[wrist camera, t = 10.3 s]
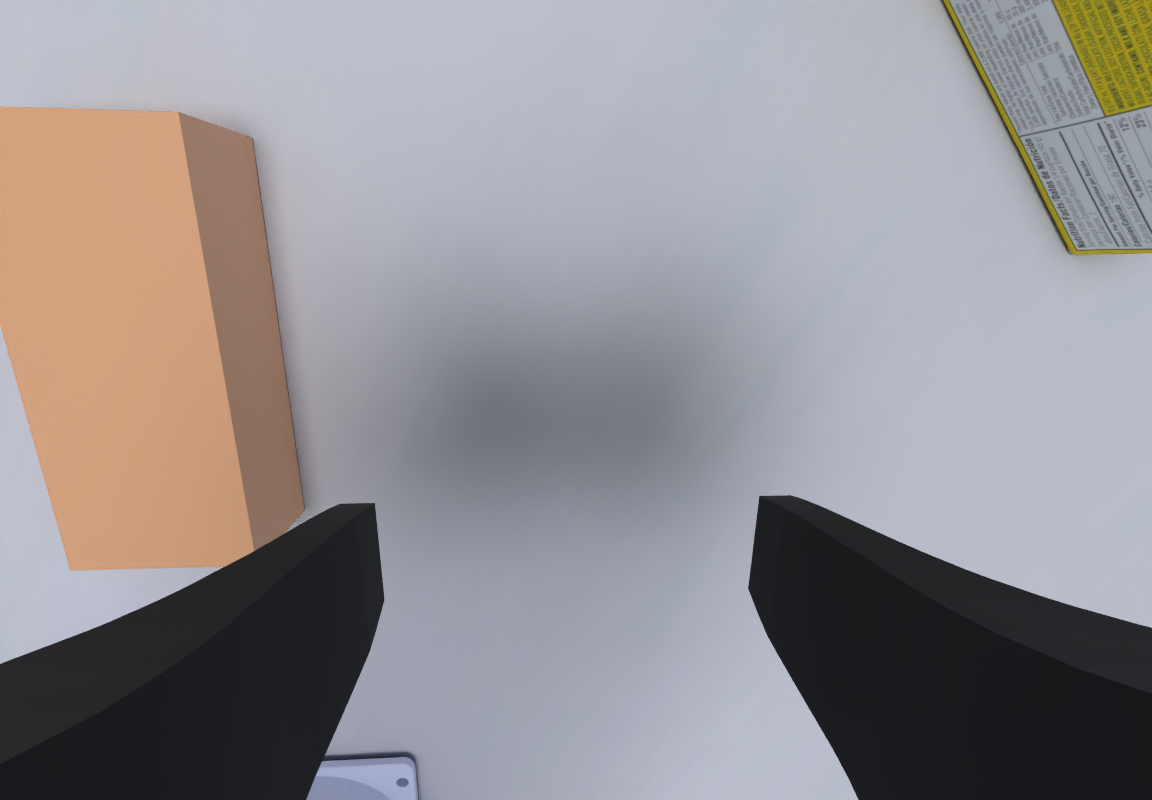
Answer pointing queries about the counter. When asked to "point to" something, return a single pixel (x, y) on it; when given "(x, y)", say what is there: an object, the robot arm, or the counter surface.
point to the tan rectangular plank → (145, 335)
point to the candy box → (1074, 108)
